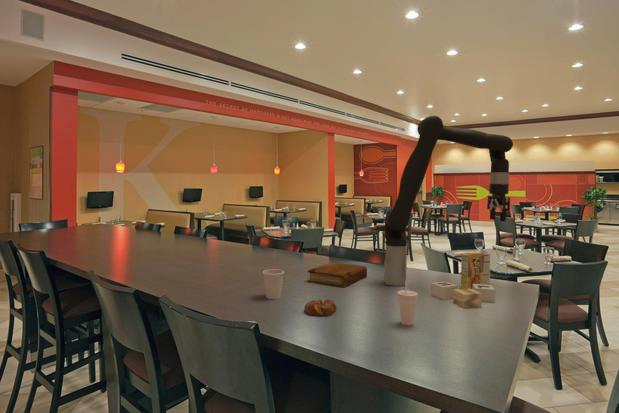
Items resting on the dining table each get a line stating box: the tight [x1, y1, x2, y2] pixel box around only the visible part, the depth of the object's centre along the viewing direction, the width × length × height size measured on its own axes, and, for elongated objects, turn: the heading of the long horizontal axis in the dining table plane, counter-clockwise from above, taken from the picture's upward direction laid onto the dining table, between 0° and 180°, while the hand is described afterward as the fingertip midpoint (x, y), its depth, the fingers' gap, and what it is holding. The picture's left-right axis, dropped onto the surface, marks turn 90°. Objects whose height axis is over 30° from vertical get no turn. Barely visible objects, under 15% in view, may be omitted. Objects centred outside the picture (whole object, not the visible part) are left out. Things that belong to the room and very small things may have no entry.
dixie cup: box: [262, 268, 285, 300], centre depth 148 cm, size 8×8×10 cm
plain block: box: [452, 288, 483, 309], centre depth 141 cm, size 7×7×5 cm
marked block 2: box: [472, 284, 496, 303], centre depth 148 cm, size 7×7×5 cm
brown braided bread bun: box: [304, 298, 338, 317], centre depth 132 cm, size 12×11×4 cm
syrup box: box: [473, 250, 491, 285], centre depth 169 cm, size 6×6×14 cm
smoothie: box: [397, 278, 419, 326], centre depth 121 cm, size 6×6×14 cm
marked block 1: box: [430, 281, 459, 301], centre depth 151 cm, size 7×7×5 cm
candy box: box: [459, 252, 484, 289], centre depth 160 cm, size 9×4×15 cm, turn 116°
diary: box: [307, 261, 368, 289], centre depth 177 cm, size 23×19×6 cm
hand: (497, 220), depth 167 cm, fingers open, 8 cm apart
